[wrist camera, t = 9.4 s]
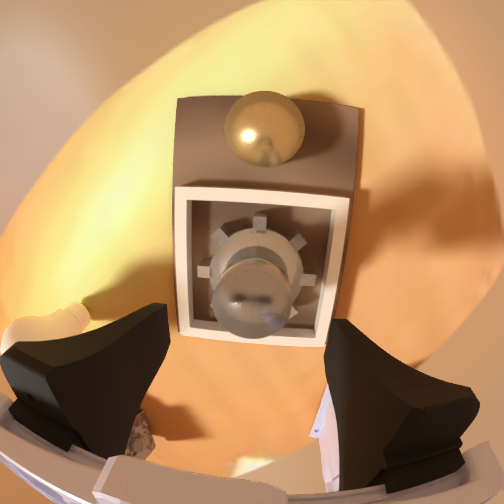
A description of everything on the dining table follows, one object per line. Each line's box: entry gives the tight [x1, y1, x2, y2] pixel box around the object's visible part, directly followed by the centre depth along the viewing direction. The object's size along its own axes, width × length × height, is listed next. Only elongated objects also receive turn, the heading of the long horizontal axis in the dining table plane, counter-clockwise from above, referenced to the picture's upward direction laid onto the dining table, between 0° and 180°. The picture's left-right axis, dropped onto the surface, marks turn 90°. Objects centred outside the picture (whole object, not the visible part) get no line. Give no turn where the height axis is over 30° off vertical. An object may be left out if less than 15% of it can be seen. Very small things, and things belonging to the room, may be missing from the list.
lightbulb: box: [1, 302, 90, 355], centre depth 17 cm, size 6×6×11 cm
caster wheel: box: [125, 410, 155, 460], centre depth 24 cm, size 7×11×10 cm
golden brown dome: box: [224, 91, 305, 167], centre depth 15 cm, size 4×4×2 cm
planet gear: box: [197, 213, 316, 339], centre depth 16 cm, size 8×8×6 cm
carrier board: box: [172, 96, 359, 344], centre depth 18 cm, size 18×12×1 cm
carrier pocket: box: [175, 186, 350, 347], centre depth 18 cm, size 11×11×1 cm
